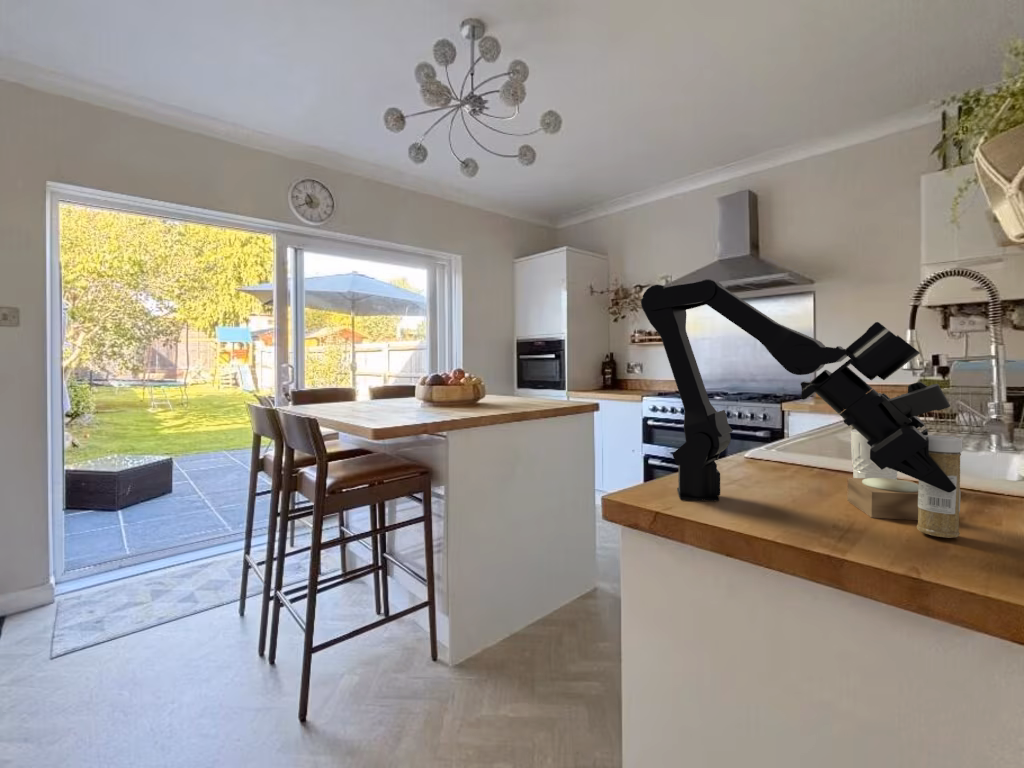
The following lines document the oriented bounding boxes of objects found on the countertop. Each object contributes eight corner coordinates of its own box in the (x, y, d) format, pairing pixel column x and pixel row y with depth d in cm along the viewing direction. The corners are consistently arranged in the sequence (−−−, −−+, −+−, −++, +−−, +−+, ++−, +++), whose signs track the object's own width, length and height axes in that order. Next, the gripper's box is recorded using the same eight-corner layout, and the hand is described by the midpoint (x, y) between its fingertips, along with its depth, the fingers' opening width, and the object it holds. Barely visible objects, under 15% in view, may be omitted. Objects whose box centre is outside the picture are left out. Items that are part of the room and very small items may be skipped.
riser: (871, 517, 75) (871, 490, 75) (847, 500, 84) (847, 475, 84) (940, 521, 73) (941, 492, 73) (908, 503, 82) (909, 478, 82)
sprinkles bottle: (964, 535, 67) (967, 437, 67) (953, 541, 64) (956, 439, 64) (922, 526, 71) (925, 433, 70) (910, 531, 68) (913, 435, 68)
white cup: (850, 476, 100) (850, 427, 100) (899, 481, 96) (900, 430, 95) (849, 484, 94) (850, 433, 93) (901, 490, 89) (902, 436, 89)
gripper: (905, 365, 62) (1026, 463, 55) (907, 362, 76) (1003, 439, 70) (829, 422, 67) (932, 517, 61) (845, 409, 82) (929, 484, 75)
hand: (952, 486), depth 67 cm, fingers closed on sprinkles bottle, 4 cm apart
